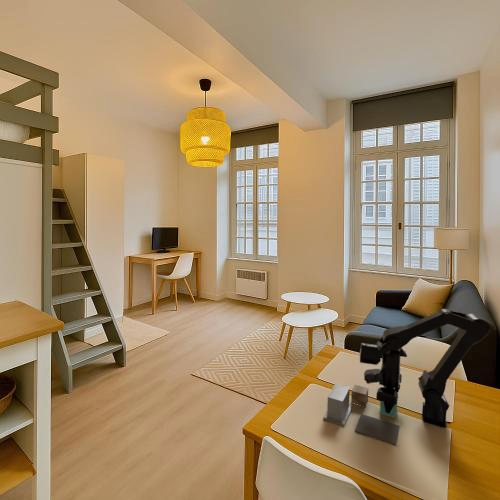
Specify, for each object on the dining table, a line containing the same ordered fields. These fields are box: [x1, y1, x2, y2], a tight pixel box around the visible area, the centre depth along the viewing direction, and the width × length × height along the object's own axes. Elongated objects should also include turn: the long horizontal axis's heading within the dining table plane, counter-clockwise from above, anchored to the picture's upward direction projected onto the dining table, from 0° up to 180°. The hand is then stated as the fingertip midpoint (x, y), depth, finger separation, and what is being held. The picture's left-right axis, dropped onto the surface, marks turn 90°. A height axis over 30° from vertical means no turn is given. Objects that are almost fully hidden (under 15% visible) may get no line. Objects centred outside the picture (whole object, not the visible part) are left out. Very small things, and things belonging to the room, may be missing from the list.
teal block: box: [379, 400, 398, 419], centre depth 111 cm, size 5×5×5 cm
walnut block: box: [350, 384, 369, 408], centre depth 117 cm, size 5×5×5 cm
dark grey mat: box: [354, 413, 400, 446], centre depth 102 cm, size 12×10×1 cm
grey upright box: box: [322, 383, 353, 427], centre depth 110 cm, size 7×12×8 cm, turn 150°
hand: (388, 408), depth 111 cm, fingers closed on teal block, 5 cm apart
